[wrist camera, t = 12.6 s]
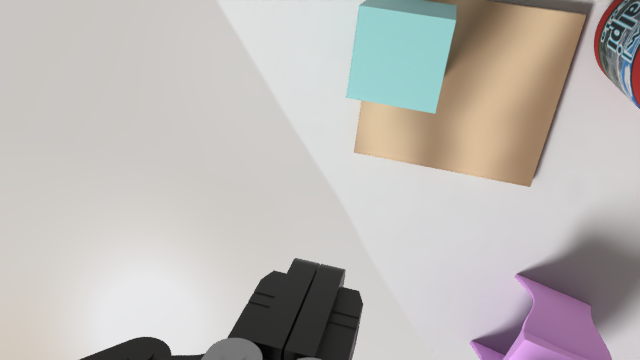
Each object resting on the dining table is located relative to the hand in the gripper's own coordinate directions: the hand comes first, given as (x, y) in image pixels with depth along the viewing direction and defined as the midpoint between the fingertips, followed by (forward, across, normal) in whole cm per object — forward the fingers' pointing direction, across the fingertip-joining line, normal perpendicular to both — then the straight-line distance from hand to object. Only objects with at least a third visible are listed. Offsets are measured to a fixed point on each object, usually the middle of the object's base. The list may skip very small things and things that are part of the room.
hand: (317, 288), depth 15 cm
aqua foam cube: (+24, 0, -3) cm, 24 cm away
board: (+25, -4, 0) cm, 25 cm away
